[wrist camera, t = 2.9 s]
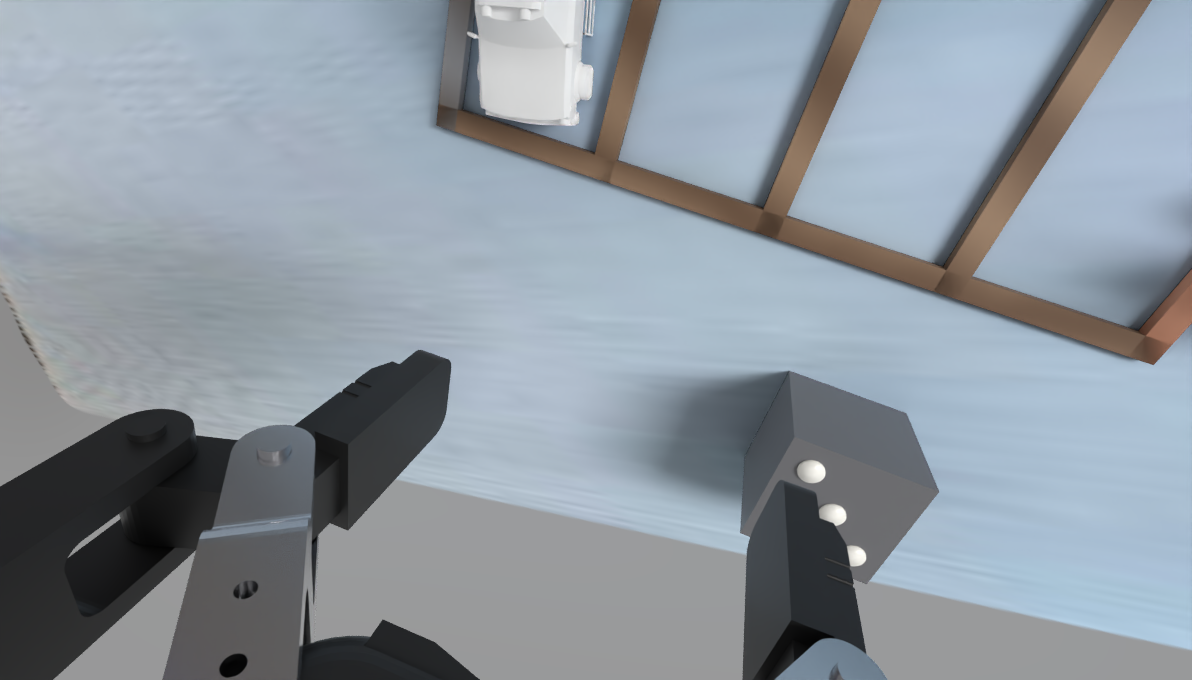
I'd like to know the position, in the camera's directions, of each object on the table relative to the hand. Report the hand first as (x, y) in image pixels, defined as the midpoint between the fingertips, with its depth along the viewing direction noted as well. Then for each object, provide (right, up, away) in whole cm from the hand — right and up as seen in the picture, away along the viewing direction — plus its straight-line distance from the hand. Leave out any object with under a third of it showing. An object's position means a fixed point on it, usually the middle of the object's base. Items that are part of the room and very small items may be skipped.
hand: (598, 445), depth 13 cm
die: (+14, -3, +21) cm, 26 cm away
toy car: (-2, +20, +15) cm, 25 cm away
